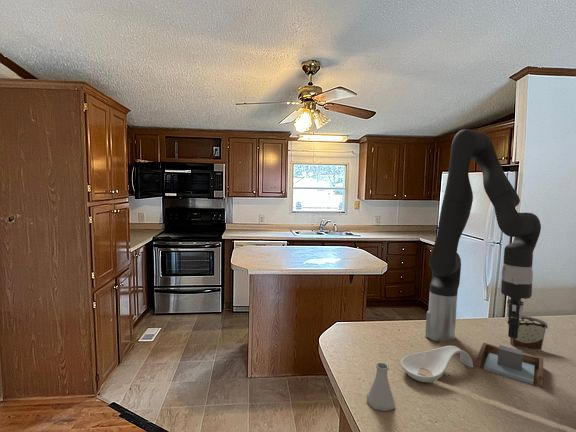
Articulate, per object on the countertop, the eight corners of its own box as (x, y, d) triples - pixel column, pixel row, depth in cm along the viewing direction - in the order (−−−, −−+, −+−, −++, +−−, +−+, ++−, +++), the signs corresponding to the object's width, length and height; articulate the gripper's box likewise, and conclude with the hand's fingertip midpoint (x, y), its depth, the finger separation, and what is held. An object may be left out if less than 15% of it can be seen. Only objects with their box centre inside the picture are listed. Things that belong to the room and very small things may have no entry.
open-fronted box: (475, 370, 100) (476, 357, 100) (482, 353, 110) (483, 342, 110) (542, 390, 90) (543, 377, 90) (542, 370, 100) (543, 358, 100)
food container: (534, 342, 119) (536, 315, 119) (545, 350, 113) (548, 322, 112) (498, 340, 121) (500, 313, 120) (508, 348, 115) (510, 320, 114)
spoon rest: (420, 392, 89) (421, 367, 88) (392, 370, 100) (393, 347, 99) (483, 376, 97) (485, 353, 96) (451, 357, 108) (452, 336, 107)
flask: (362, 394, 87) (363, 358, 86) (388, 393, 88) (390, 357, 87) (371, 412, 80) (373, 373, 79) (400, 411, 81) (402, 373, 80)
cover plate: (483, 369, 99) (485, 350, 98) (488, 355, 107) (490, 337, 107) (533, 384, 91) (535, 364, 91) (534, 368, 100) (536, 349, 99)
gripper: (503, 273, 105) (501, 322, 106) (499, 282, 94) (496, 337, 95) (532, 276, 100) (529, 328, 102) (532, 287, 89) (528, 344, 90)
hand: (513, 332), depth 98 cm, fingers open, 8 cm apart
